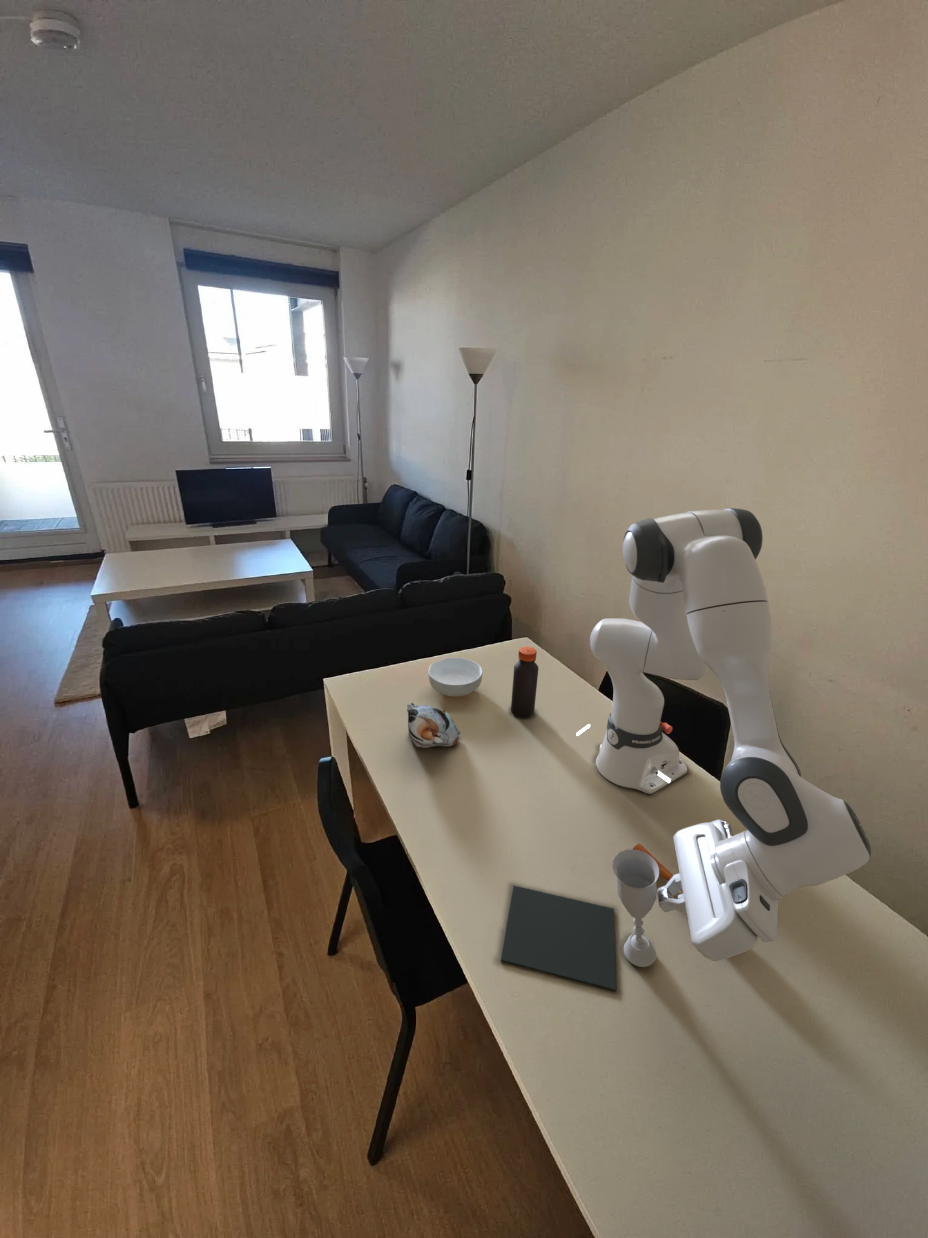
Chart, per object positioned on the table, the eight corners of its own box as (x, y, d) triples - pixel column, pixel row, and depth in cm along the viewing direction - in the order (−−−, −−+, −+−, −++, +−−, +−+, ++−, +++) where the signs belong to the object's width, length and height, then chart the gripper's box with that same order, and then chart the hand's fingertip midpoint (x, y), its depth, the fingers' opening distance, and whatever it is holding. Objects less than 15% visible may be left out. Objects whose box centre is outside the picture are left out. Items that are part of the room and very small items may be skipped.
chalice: (665, 976, 79) (662, 889, 73) (619, 972, 81) (613, 886, 75) (658, 932, 86) (655, 850, 80) (616, 929, 87) (610, 848, 81)
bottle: (538, 711, 147) (544, 650, 139) (525, 721, 143) (531, 658, 135) (519, 702, 152) (524, 642, 144) (506, 711, 147) (510, 650, 139)
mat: (613, 910, 90) (613, 908, 90) (615, 991, 78) (616, 990, 78) (513, 887, 94) (513, 885, 94) (500, 961, 81) (500, 959, 81)
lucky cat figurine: (469, 740, 134) (464, 716, 123) (433, 770, 130) (424, 747, 119) (435, 703, 142) (427, 677, 131) (400, 730, 138) (389, 705, 127)
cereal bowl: (426, 676, 164) (427, 657, 161) (477, 675, 166) (478, 656, 163) (429, 705, 148) (429, 685, 146) (485, 703, 150) (486, 683, 148)
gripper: (716, 803, 81) (642, 835, 87) (751, 919, 63) (654, 951, 69) (739, 829, 82) (664, 860, 88) (780, 952, 64) (682, 980, 69)
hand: (660, 901), depth 78 cm, fingers closed
